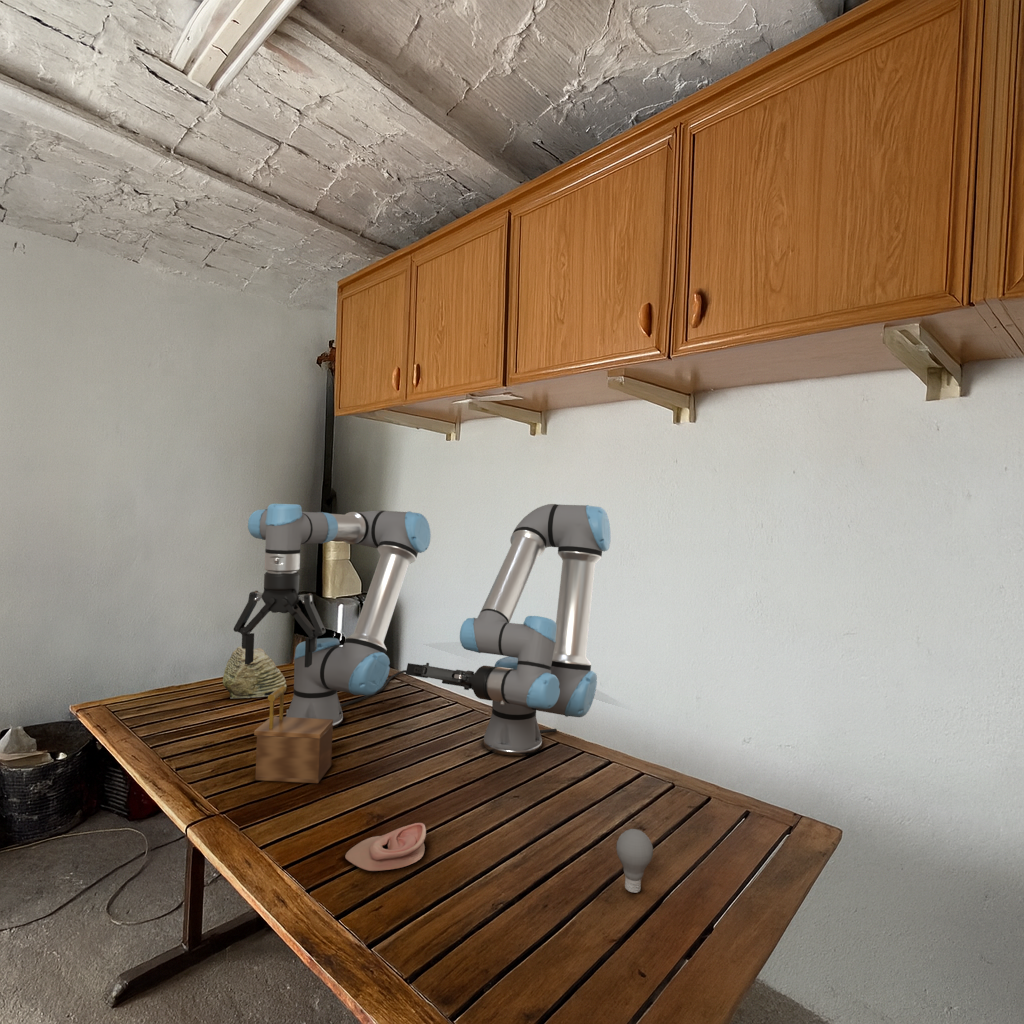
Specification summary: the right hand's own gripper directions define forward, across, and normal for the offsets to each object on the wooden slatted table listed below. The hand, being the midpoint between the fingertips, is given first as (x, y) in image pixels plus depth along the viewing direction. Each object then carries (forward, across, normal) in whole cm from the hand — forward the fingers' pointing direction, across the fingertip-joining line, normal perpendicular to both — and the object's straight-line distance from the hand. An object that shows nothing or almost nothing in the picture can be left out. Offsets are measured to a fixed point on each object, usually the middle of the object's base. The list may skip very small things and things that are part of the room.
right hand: (426, 673), depth 156 cm
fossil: (+73, +5, -14) cm, 75 cm away
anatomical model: (-23, -26, -34) cm, 48 cm away
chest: (+18, -17, -27) cm, 37 cm away
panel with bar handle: (+17, -21, -18) cm, 32 cm away
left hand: (+19, -28, -4) cm, 35 cm away
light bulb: (-62, -7, -30) cm, 69 cm away
